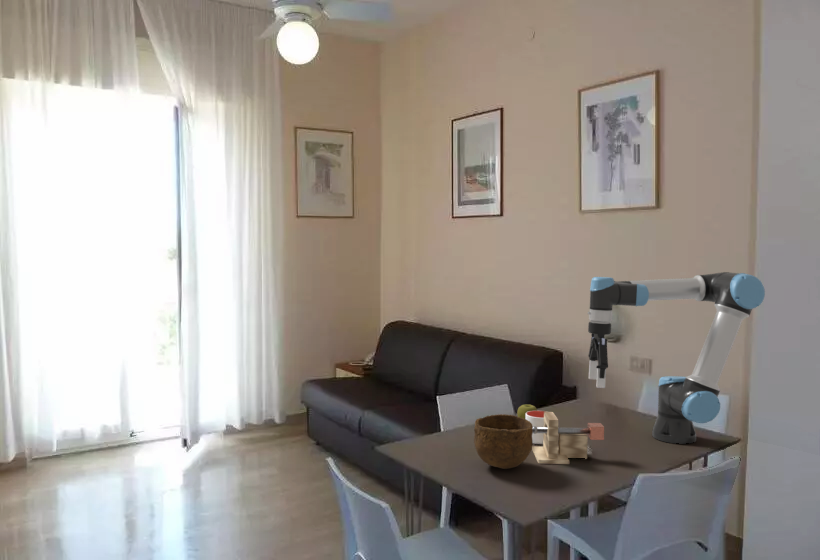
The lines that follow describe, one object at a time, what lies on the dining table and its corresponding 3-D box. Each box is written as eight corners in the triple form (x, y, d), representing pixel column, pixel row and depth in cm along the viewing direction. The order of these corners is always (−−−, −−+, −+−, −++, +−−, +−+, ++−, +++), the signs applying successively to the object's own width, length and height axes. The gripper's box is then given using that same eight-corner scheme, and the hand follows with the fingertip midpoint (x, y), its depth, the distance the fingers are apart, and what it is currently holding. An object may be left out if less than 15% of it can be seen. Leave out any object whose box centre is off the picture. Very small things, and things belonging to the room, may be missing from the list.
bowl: (519, 482, 194) (520, 433, 193) (463, 470, 204) (464, 423, 203) (541, 464, 210) (542, 419, 209) (488, 453, 220) (489, 410, 219)
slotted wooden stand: (581, 450, 224) (582, 411, 223) (591, 464, 210) (592, 422, 209) (532, 449, 225) (532, 410, 224) (538, 463, 211) (539, 421, 210)
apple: (538, 426, 254) (539, 408, 253) (518, 425, 254) (518, 407, 253) (535, 420, 261) (535, 403, 261) (515, 420, 261) (516, 403, 261)
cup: (553, 446, 229) (553, 418, 228) (524, 444, 231) (525, 416, 230) (552, 438, 238) (553, 411, 238) (525, 436, 240) (525, 409, 240)
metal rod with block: (600, 435, 219) (600, 423, 218) (603, 439, 214) (604, 426, 214) (530, 434, 219) (530, 421, 219) (532, 438, 215) (532, 425, 215)
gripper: (582, 317, 233) (579, 375, 235) (596, 326, 209) (592, 390, 210) (603, 318, 233) (600, 376, 234) (619, 327, 208) (616, 392, 209)
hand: (596, 383), depth 222 cm, fingers open, 13 cm apart
